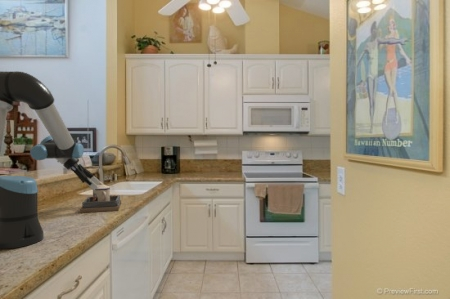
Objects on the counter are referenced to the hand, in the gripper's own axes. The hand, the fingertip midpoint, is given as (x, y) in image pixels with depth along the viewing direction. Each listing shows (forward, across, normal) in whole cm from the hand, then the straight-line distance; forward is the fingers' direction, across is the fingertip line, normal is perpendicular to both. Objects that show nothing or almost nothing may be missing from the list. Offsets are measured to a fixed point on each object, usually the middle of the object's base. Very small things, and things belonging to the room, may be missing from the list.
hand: (98, 186), depth 156 cm
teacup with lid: (+8, 0, -6) cm, 10 cm away
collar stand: (+10, 0, -7) cm, 12 cm away
